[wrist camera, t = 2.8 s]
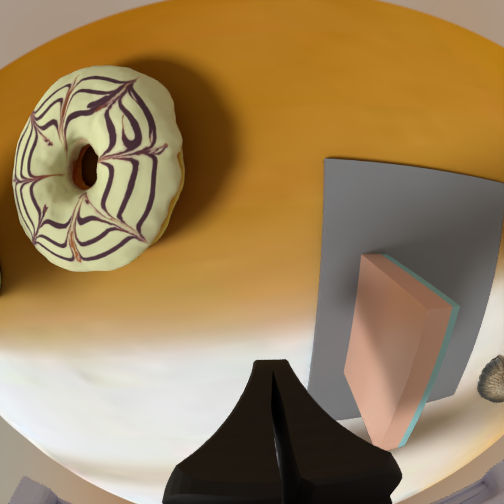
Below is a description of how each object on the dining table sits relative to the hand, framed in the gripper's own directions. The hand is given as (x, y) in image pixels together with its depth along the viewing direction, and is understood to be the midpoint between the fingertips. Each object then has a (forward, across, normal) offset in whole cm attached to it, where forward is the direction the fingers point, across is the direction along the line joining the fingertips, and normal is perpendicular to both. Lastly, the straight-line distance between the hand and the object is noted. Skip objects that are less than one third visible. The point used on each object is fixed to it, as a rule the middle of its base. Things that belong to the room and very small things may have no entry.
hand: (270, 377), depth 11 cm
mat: (+5, -10, 0) cm, 11 cm away
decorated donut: (+6, +9, -9) cm, 14 cm away
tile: (+5, -6, 0) cm, 8 cm away
